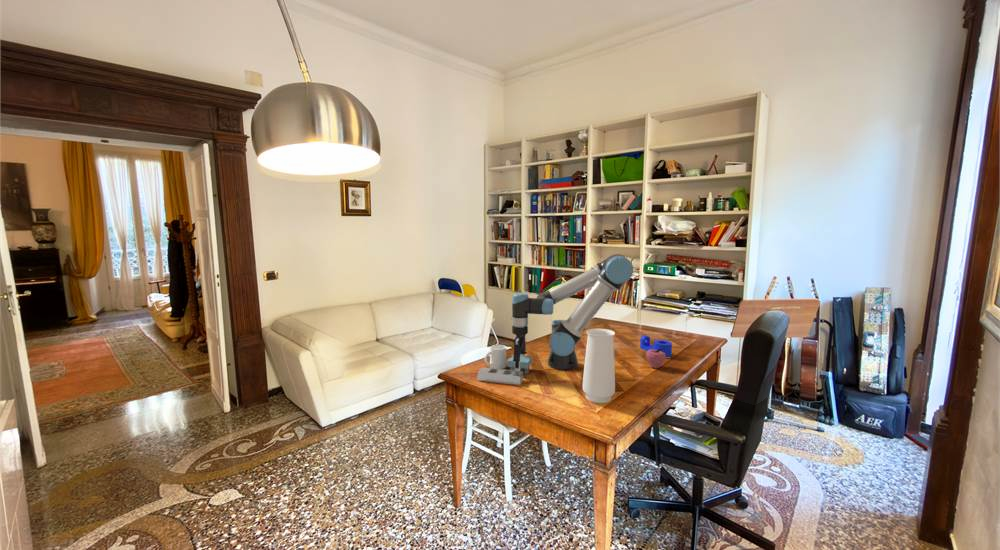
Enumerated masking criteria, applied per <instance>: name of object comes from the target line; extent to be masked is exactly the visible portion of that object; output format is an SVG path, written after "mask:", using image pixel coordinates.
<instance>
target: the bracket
mask: <svg viewBox="0 0 1000 550" xmlns="http://www.w3.org/2000/svg"><path fill="white" fill-rule="evenodd" d="M639 340H640V345H639V348H640V349H641V348H642V349H641V350H643V349H644V350H646V351H648V350H651V349H652V350H659V349H661V351H662V352H664V353H665V355H666V357H671V358H672V352H673V351H672V350H673V342H671V341H669V340H664V339H658V340H657V339H655V340H653V344H651V338H650V336H648V335H644V334H643V335H642V336H641V337H640V339H639ZM644 350H643V351H644ZM646 351H645V352H646Z"/></svg>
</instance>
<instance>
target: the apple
mask: <svg viewBox="0 0 1000 550" xmlns="http://www.w3.org/2000/svg"><path fill="white" fill-rule="evenodd" d="M645 352H646V351H645ZM645 358H646V361H647V362H648V363H649V366H650V367H651V368H653V367H654V369H659V368H661V366H662V365H663V363H664V362H665V361H666V360H667V359H666V355H665V353H664V352H662V351H661V349H659V350H652V349H651V350H648V351H647V352H646V353H645Z"/></svg>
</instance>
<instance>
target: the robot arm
mask: <svg viewBox="0 0 1000 550" xmlns="http://www.w3.org/2000/svg"><path fill="white" fill-rule="evenodd" d="M633 273H634V265H633V263H632V261H631V260H630V259H629V258H628V257H626V256H625V255H622V254H619V253H617V254H616V253H615V254H612V255H610V256H608V257H607V258H605V259H603V260H601V261H600V262H598V263H596V264H595V266H594V267H592V268H591V269H589V270H586V271H585V272H582V273H581V274H579V275H577V276H574V277H573V278H571V279H568V280H566V281H565V282H563V283H560V284H558V285H556V286H555V287H552V288H551V289H548V290H547V291H544V292H541V293H539V294H538V295H536V297H529V294H528V293H526V292H516V293H513V295H512V299H511V300H512V301H511V306H512V307H511V308H512V309H511V311H512V312H511V313H512V314H511V319H510V320H511V321H512V323H511V324H512V326H511V331H512V334H514V335H515V338H514V341H513V345H514V346H513V355H514V357H513V361H514V371H521V368H520V355H521V356H526V355H527V354H528V353H527V347H526V335H527V334H528V333H529V327H528V325H529V314H530V315H545V316H546V315H547V316H548V315H553V314H554V305H555V304H558V303H560V302H562V301H564V300H565V299H568V298H571V297H572V296H574V295H576V294H578V293H580V292H583V291H585V290H587V289H589V288H590V289H589V291H588V292H587V293H586V295H585V296H584V297H583V299H582V300H581V301H580V303H578V305H577V306H576V308H575V309H574V310H573V312H572V313H571V314H570V315H569V316H568V318H567V319H554V320H553V321H552V322H551V334H550V337H549V339H548V344H549V349H550V353H549V355H548V359H547V365H548V366H549V367H550V368H553V369H556V370H562V371H568V370H569V371H570V370H574V369H576V368H578V366H579V361H578V357H577V354H576V350H575V349H576V345H577V344H579V343H578V342H580V340H581V339H582V337H583V333H582V332H583V331H584V329H585V328H586V327H587V326H588V325H589V323H590V322H591V321H592V320H593V318H594V317H595V316H596V314H597V313H598V312H599V310H600V309H601V308H602V307H603V305H604V304H605V303H606V301H607V300H608V299H609V297H611V295H612V294H613V292H616V291H619V290H620V289H621V288H622V287H623V285H624V284H626V283H627V282H628V281H630V280H631V279H632V277H633Z"/></svg>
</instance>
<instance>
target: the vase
mask: <svg viewBox="0 0 1000 550" xmlns="http://www.w3.org/2000/svg"><path fill="white" fill-rule="evenodd" d="M585 332H586V334H587V338H586V339H587V340H586V348H585V355H584V357H585V358H584V366H583V375H582V376H583V377H582V391H583V392H584V393H585V397H586V400H588V401H590V402H591V403H596V404H605V403H609V402H610V401H611V399H612V397H613V395H615V393H616V373H615V370H616V369H615V367H616V366H615V350H614V349H615V345H614V336H615V334H616V332H615V331H614V330H611V329H608V328H599V327H598V328H589V329H587V330H585Z"/></svg>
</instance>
